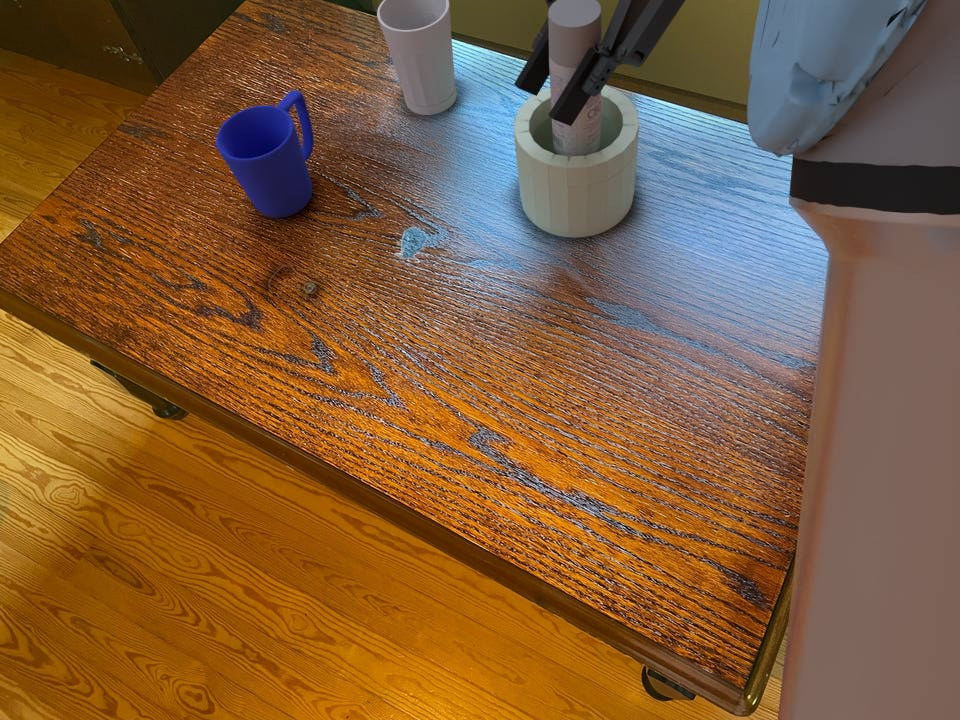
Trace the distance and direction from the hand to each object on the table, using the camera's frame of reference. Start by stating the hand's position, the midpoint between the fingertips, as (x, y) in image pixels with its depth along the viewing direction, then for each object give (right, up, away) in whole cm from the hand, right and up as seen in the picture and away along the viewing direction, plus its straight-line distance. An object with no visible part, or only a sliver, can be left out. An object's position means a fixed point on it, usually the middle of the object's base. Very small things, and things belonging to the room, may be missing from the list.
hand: (542, 104), depth 72 cm
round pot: (+5, -6, +13) cm, 15 cm away
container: (+4, -2, +7) cm, 8 cm away
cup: (-12, +9, +24) cm, 28 cm away
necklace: (-25, -15, +11) cm, 31 cm away
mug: (-27, -4, +19) cm, 33 cm away
